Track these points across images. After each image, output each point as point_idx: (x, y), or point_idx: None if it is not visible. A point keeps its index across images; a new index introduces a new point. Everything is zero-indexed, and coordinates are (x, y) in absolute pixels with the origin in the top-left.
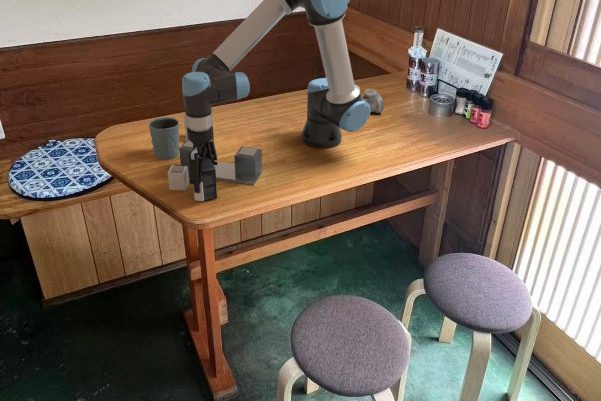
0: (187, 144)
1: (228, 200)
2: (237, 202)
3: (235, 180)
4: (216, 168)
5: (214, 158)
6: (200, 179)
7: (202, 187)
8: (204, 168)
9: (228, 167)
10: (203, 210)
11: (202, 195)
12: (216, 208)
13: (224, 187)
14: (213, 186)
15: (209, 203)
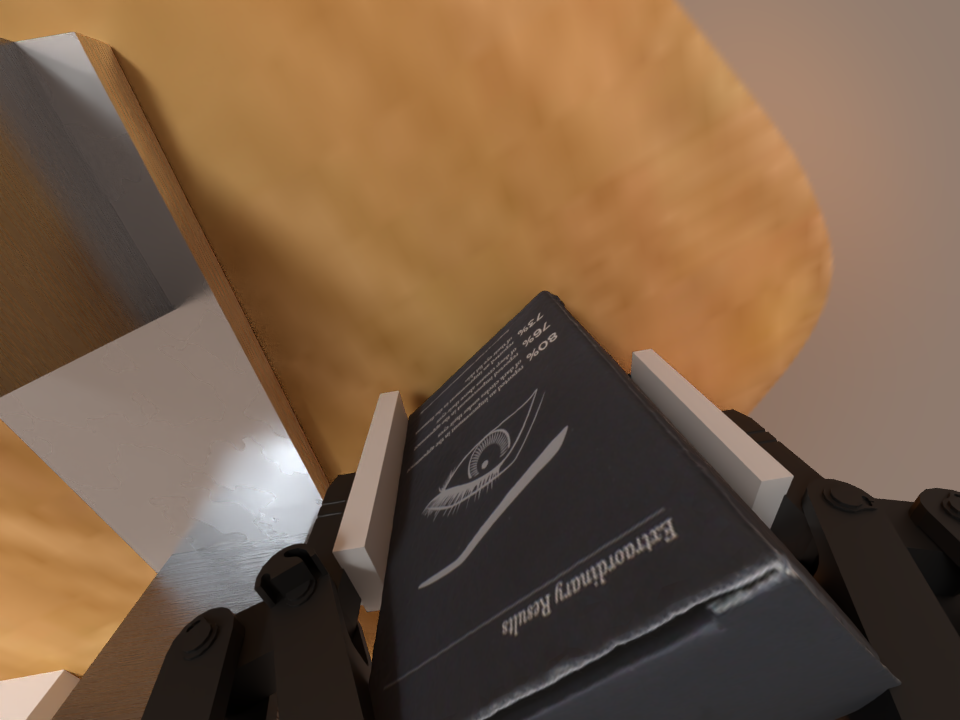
0: None
1: (521, 182)
2: (523, 65)
3: (212, 284)
4: (190, 489)
5: (234, 667)
6: (850, 529)
7: (720, 428)
8: (822, 693)
9: (98, 434)
10: (711, 297)
11: (683, 377)
12: (669, 218)
13: (354, 321)
14: (607, 355)
15: (611, 306)
